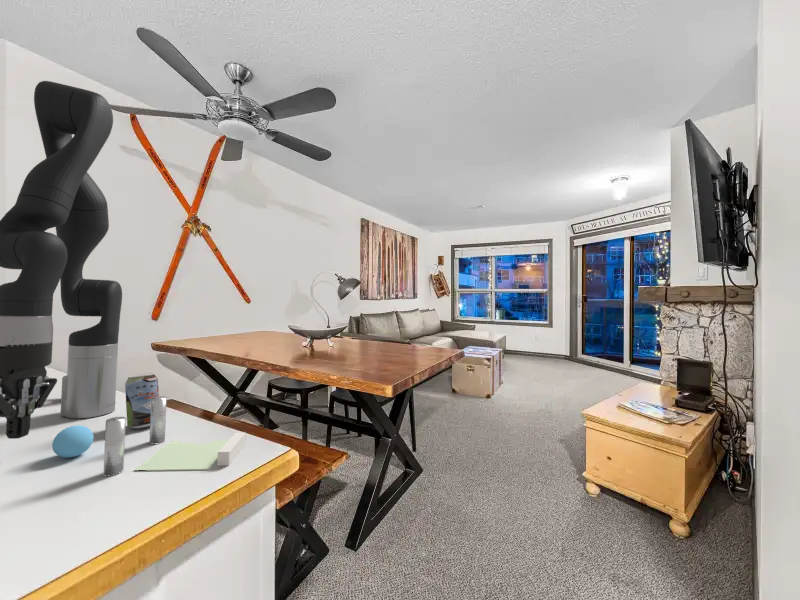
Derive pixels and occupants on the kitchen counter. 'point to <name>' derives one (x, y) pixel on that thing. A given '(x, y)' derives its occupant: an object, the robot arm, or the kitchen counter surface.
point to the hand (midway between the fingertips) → (17, 436)
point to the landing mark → (183, 457)
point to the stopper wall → (231, 449)
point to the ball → (72, 441)
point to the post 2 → (158, 419)
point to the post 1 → (114, 445)
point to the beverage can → (140, 399)
